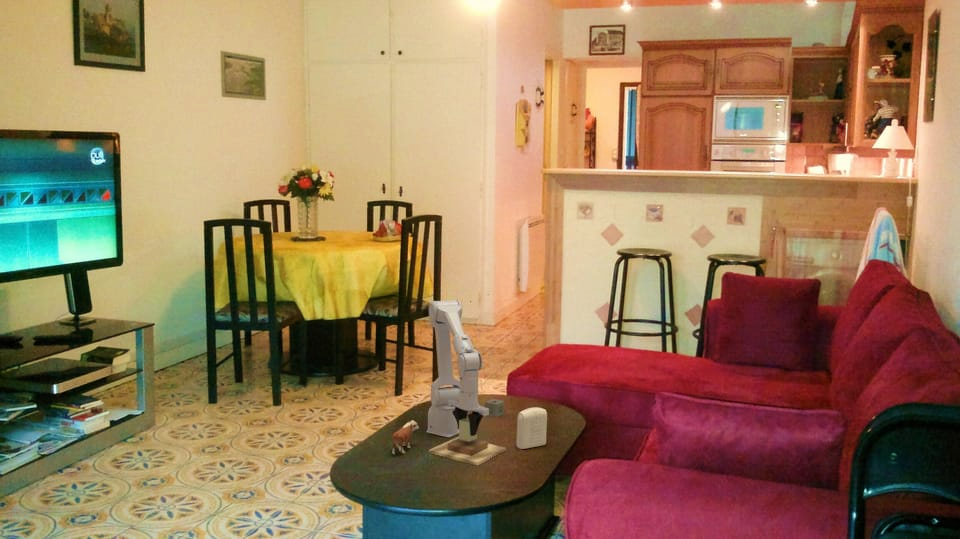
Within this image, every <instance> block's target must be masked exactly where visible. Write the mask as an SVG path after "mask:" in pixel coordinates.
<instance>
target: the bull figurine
mask: <svg viewBox="0 0 960 539" xmlns="http://www.w3.org/2000/svg"><path fill="white" fill-rule="evenodd" d="M419 429H420V427H419V425H418V423H417V422H416V421H415V420H413V419H412V420H407V422H406V423H405V424H404V425H403V426H401V428H400V429H398V430H397V431H395V432H394V433H393V434H392V437H391V440H392V447H391V448H392V452H391V453H392V455H396V452H395V451H396V447H397V448H398V450H399V452H401V454H406V451H405V449H404V447H403V446H406V448H407V449H408V448H411V446H410V445H411V441H412V438H413V434H414V433H413V432H414V431H415V430H419ZM406 443H407V445H406Z"/></svg>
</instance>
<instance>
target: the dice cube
mask: <svg viewBox="0 0 960 539" xmlns="http://www.w3.org/2000/svg"><path fill="white" fill-rule="evenodd" d="M484 407H485V408H488V409H489V415H487V417H490V416H491V417H490V418H494V417H496V419H498V418H500V417H502V416H505V401H504V400H501V399H496V398H491V399H489V400H486V401H485V402H484ZM501 415H502V416H501ZM499 416H500V417H499ZM497 417H498V418H497Z"/></svg>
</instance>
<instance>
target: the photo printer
mask: <svg viewBox="0 0 960 539" xmlns="http://www.w3.org/2000/svg"><path fill="white" fill-rule="evenodd" d="M516 419H517V420H516V441H515V442H516V444H515V445H516V447H517V449H520V450H523V449H529V448H535V447H541V446H545V445H546V444H547V428H548V426H547V424H548V412H547V410H546V409H544V408H542V407H528V408H526V409H523V410H522V411H520V412H519V413H518V414H517V418H516Z"/></svg>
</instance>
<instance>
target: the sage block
mask: <svg viewBox="0 0 960 539" xmlns="http://www.w3.org/2000/svg"><path fill="white" fill-rule="evenodd" d="M458 429H459V434H458V437H459V439H461V440H465V441H468V442H470V441H472V440H475V439H478V432H477V433H476V435H474V436H471V434H470V422H469V418H468V416H467V418H464V419H461V420H459V428H458Z"/></svg>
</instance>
